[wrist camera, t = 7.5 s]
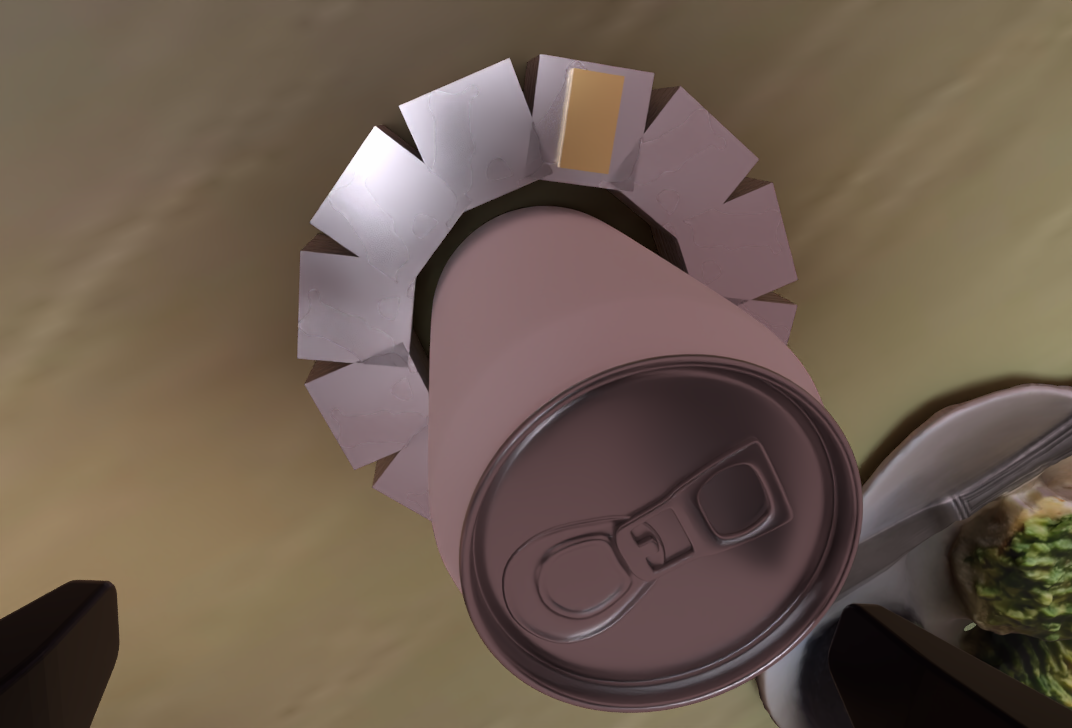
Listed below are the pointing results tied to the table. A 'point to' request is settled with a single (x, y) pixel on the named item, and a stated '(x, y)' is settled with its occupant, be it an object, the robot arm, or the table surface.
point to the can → (626, 469)
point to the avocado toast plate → (960, 550)
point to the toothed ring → (487, 173)
